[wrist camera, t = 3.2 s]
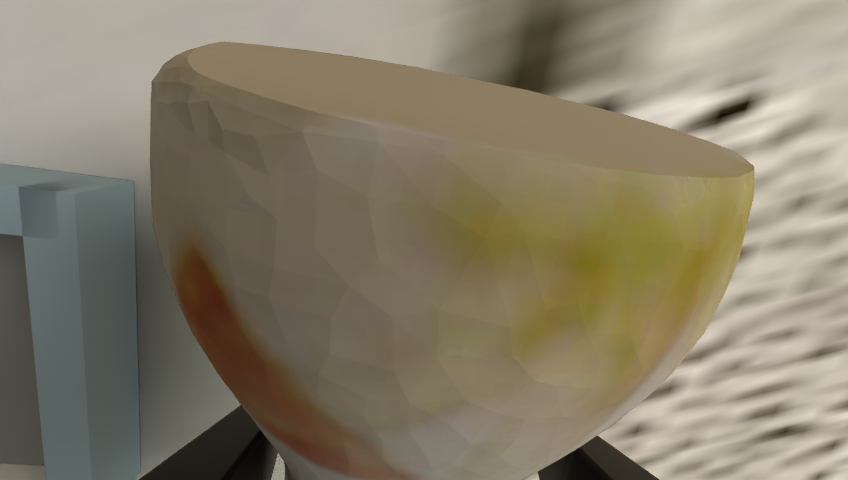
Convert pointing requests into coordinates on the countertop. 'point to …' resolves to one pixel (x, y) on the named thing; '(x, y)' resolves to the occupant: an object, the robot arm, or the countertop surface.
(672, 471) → the countertop surface
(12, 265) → the mat
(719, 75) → the countertop surface
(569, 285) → the mug
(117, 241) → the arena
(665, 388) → the countertop surface
